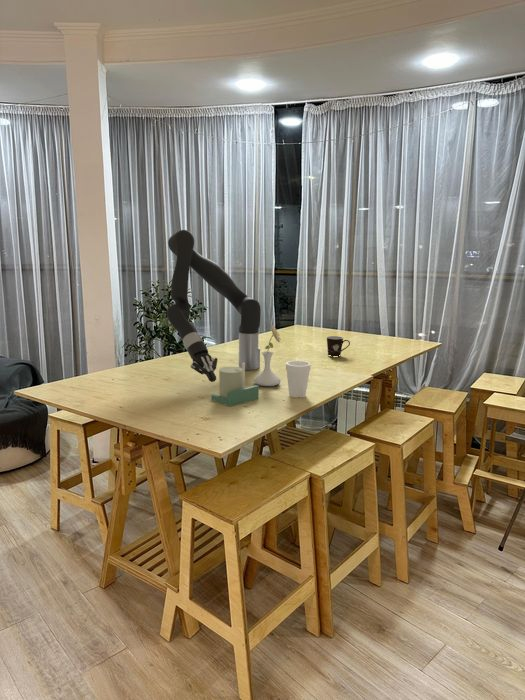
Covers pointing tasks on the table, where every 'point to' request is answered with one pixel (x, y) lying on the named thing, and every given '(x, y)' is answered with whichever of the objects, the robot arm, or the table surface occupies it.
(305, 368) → the foam cup
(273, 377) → the flower in vase
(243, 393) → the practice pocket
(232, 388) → the can
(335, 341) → the coffee mug
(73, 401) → the table surface
